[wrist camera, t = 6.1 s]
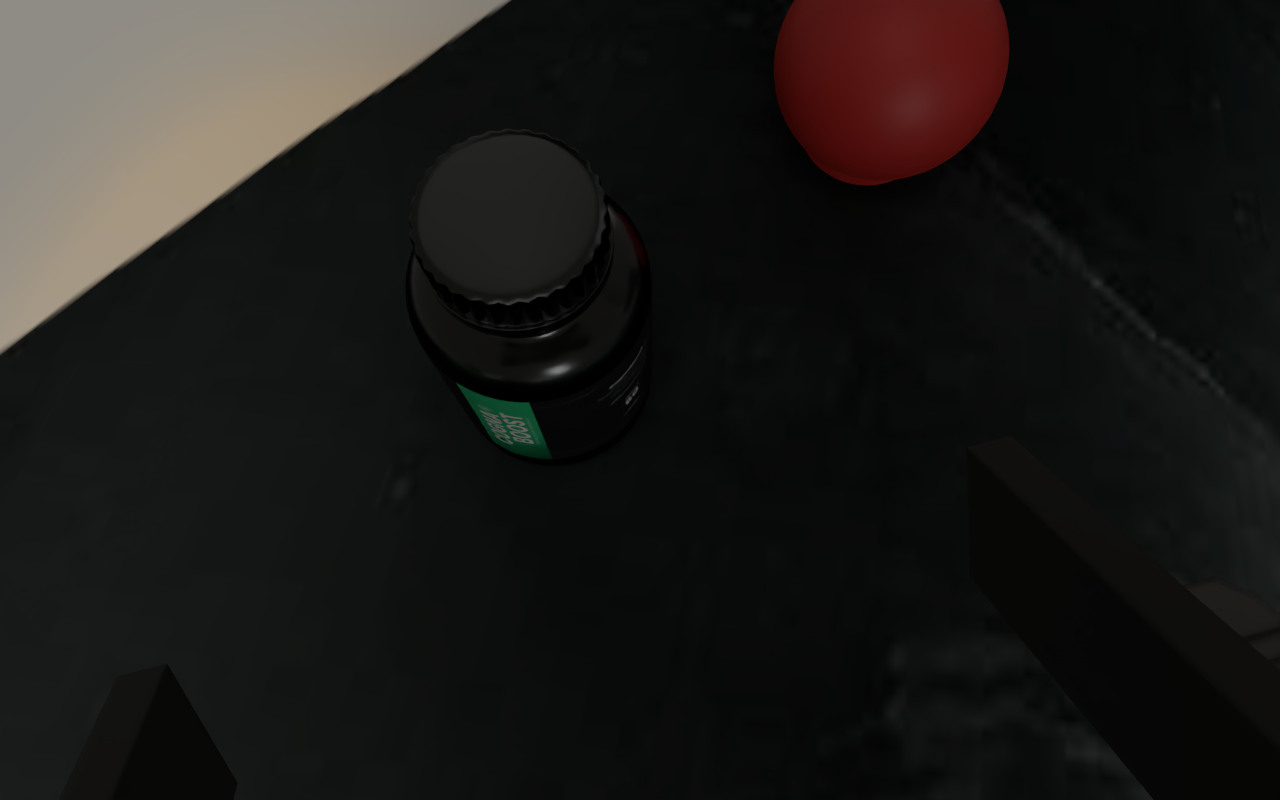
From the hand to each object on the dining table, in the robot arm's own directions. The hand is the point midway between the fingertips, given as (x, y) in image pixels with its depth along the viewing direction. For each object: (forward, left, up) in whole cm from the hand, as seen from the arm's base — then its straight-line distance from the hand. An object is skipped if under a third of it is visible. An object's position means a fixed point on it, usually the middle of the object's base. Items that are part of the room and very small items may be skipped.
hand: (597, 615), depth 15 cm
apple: (-22, -2, -16) cm, 27 cm away
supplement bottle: (-7, -7, -16) cm, 19 cm away
